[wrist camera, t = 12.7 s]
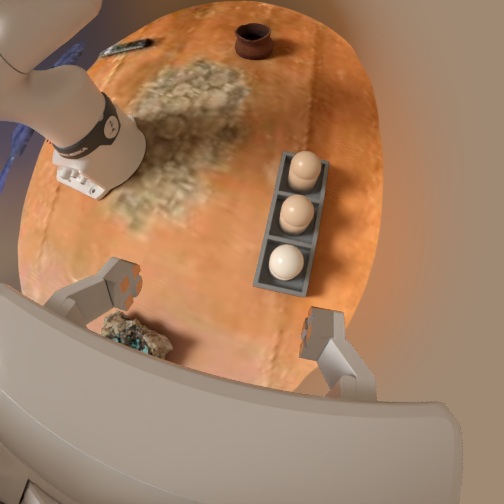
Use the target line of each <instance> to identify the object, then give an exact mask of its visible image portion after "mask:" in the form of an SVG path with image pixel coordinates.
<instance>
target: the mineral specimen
mask: <svg viewBox="0 0 504 504" xmlns="http://www.w3.org/2000/svg"><path fill="white" fill-rule="evenodd" d="M102 336H104V337H106V338H109V339H111V340H113V341H116V342H118V343H121V344H123V345H126V346H128V347H131V348H133V349H136V350H138V351H141V352H144V353H146V354H149V355H152V356H155V357H158V358H160V359H163V360H166V357H165V355H166V354H168V353H169V352H171V351H172V350H173V346H172V345H171V343H170V342H169V340H168V338H167V337H166V336H165V335H161V334H158V333H157V332H156V331H154V330H150V329H149V328H147V327H146V326H145V325H142V324H141V323H140V321H139V320H138V319H134V320H130V321H129V317H128V316H126V315H125V314H124V313H123V312H120V311H116V312H115V313H113V314H111V315H110V316H107V317H105V319H104V327H103V328H102Z"/></svg>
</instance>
